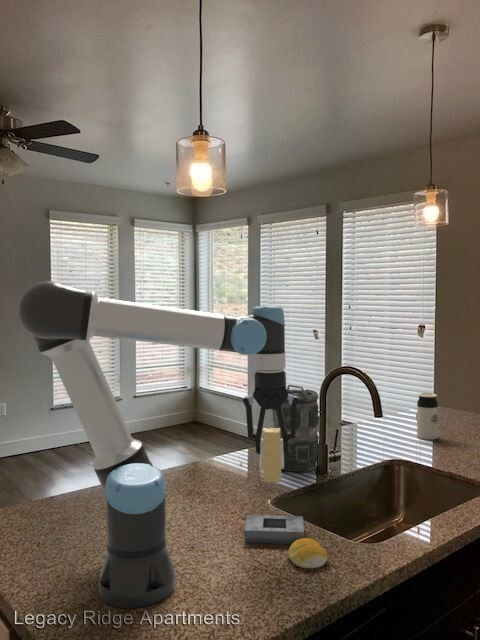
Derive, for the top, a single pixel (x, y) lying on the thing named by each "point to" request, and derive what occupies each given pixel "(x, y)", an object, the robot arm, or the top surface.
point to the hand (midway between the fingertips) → (272, 466)
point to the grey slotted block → (273, 529)
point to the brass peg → (271, 455)
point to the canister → (301, 430)
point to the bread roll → (307, 553)
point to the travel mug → (427, 416)
